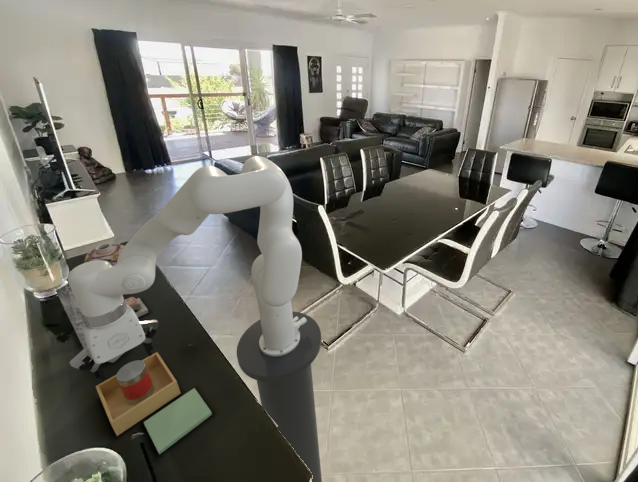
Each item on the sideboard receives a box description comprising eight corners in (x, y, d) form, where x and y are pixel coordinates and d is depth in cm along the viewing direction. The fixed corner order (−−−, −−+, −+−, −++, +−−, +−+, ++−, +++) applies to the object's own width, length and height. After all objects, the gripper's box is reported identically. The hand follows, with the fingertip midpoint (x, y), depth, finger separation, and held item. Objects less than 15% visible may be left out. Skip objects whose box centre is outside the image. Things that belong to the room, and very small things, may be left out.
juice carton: (113, 367, 93) (80, 292, 82) (84, 360, 95) (47, 287, 84) (139, 342, 101) (112, 272, 90) (112, 337, 103) (82, 267, 92)
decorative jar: (104, 280, 129) (88, 242, 122) (138, 273, 134) (125, 236, 126) (94, 299, 119) (77, 258, 112) (132, 290, 124) (118, 251, 117)
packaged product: (78, 332, 99) (72, 316, 105) (84, 343, 101) (77, 327, 107) (145, 302, 111) (136, 289, 117) (149, 313, 113) (140, 300, 119)
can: (149, 379, 89) (140, 355, 85) (157, 392, 85) (148, 369, 82) (123, 395, 85) (112, 371, 81) (130, 410, 81) (119, 385, 78)
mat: (195, 390, 87) (194, 387, 87) (212, 414, 81) (211, 411, 81) (144, 424, 79) (143, 422, 78) (159, 454, 73) (158, 452, 72)
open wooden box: (161, 363, 95) (157, 351, 93) (180, 393, 86) (176, 381, 84) (101, 398, 85) (95, 386, 83) (117, 436, 76) (110, 423, 74)
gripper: (58, 342, 65) (86, 399, 72) (154, 300, 78) (170, 351, 84) (52, 324, 70) (78, 379, 77) (143, 286, 82) (159, 337, 89)
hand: (126, 364), depth 81 cm, fingers open, 9 cm apart
